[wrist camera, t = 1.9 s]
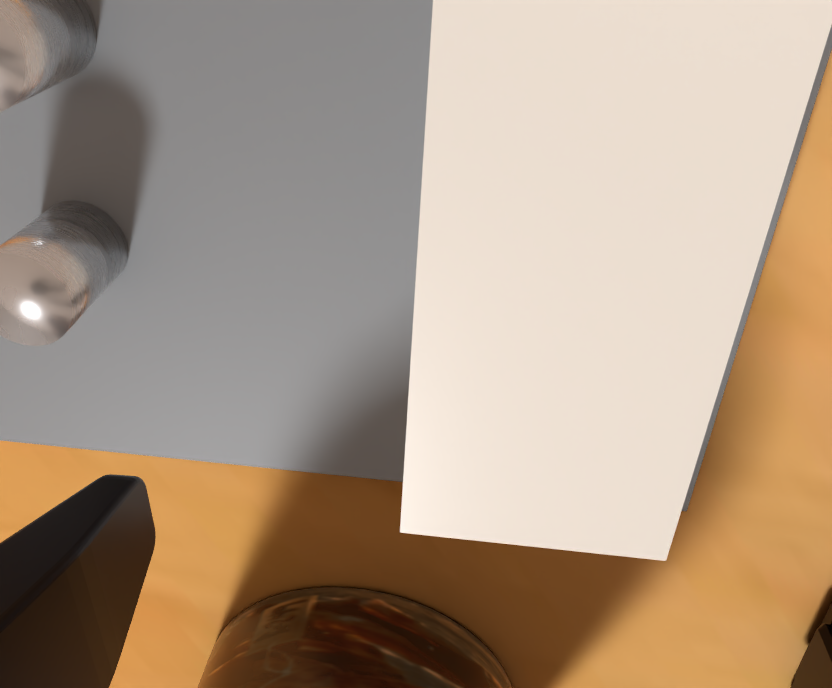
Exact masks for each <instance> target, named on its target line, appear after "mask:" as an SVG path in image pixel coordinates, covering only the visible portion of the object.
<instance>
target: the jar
mask: <svg viewBox="0 0 832 688" xmlns="http://www.w3.org/2000/svg"><path fill="white" fill-rule="evenodd" d="M198 688H512V685H511V683H510V680H509V678H508V676H507V674H506V672H505V670H504V668H503V667H502V665H501V664H500V662H499V661H498V659H497V658H496V657H495V656H494V654H493V653H492V652H491V651H490V650H489V649H488V648H487V647H486V646H485V645H484V644H483V643H482V642H481V641H480V640H479V639H478V638H477V637H476V636H474V635H473V634H472V633H471V632H469V631H468V630H467V629H465V628H464V627H463V626H461V625H460V624H458V623H456V622H455V621H453V620H452V619H450V618H448V617H446V616H445V615H443V614H441V613H439V612H437V611H435V610H433V609H430V608H428V607H426V606H424V605H421V604H419V603H416V602H413V601H411V600H407V599H404V598H401V597H398V596H394V595H390V594H386V593H382V592H377V591H371V590H365V589H356V588H343V587H321V588H309V589H302V590H295V591H291V592H286V593H282V594H279V595H276V596H272V597H270V598H267V599H265V600H262V601H260V602H258V603H256V604H254V605H252V606H250V607H249V608H247V609H246V610H244V611H243V612H241V613H240V614H239V615H237V616H236V617H235V618H234V619H233V620H232V621H231V622H230V623H229V624H228V625H227V626H226V627H225V629H224V630H223V631H222V633H221V634H220V636H219V638H218V640H217V641H216V643H215V645H214V647H213V650H212V652H211V655H210V657H209V659H208V662H207V665H206V667H205V670H204V672H203V675H202V678H201V680H200V683H199V685H198Z"/></svg>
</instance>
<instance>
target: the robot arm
mask: <svg viewBox="0 0 832 688" xmlns="http://www.w3.org/2000/svg"><path fill="white" fill-rule="evenodd" d="M154 546H155V527H154V522H153V517H152V513H151V508H150V503H149V499H148V494H147V489H146V486H145V483H144V482H143V480H142V479H141V478H139V477H136V476H125V475H105V476H102V477H100V478H99V479H97V480H95V481H94V482H92V483H91V484H89V485H88V486H86V487H85V488H83V489H82V490H80V491H79V492H77V493H76V494H74V495H73V496H71V497H70V498H68V499H67V500H65V501H63V502H62V503H60V504H59V505H57V506H56V507H54V508H53V509H51V510H50V511H48V512H47V513H45V514H44V515H42V516H41V517H39V518H38V519H36V520H35V521H33V522H32V523H30V524H29V525H27V526H25V527H24V528H22V529H21V530H19V531H18V532H16V533H15V534H13V535H12V536H10V537H9V538H7V539H6V540H4V541H3V542H1V543H0V688H109V685H110V683H111V681H112V678H113V676H114V673H115V670H116V667H117V664H118V661H119V658H120V655H121V652H122V649H123V646H124V643H125V640H126V636H127V633H128V630H129V627H130V624H131V621H132V617H133V614H134V611H135V608H136V605H137V602H138V598H139V595H140V592H141V589H142V586H143V583H144V579H145V576H146V573H147V570H148V567H149V564H150V560H151V557H152V554H153V550H154ZM791 688H832V603H831V605H830V607H829V609H828V611H827V613H826V615H825V617H824V619H823V621H822V623H821V626H820V627H819V628H818V629H817V630H816V632H815V634H814V636H813V638H812V640H811V642H810V644H809V646H808V648H807V651H806V653H805V655H804V657H803V659H802V661H801V663H800V665H799V667H798V669H797V671H796V674H795V680H794V682H793V684H792V686H791Z"/></svg>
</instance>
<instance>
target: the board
mask: <svg viewBox="0 0 832 688" xmlns="http://www.w3.org/2000/svg"><path fill="white" fill-rule="evenodd" d="M85 1H86V3H87V4H88V6H89V8H90V10H91V13H92V15H93V18H94V21H95V25H96V32H97V44H96V50H95V53H94V56H93V58H92V60H91V62H90V63H89V65H88V66H87V67H86V68H85V69H84V70H83V71H82V72H80V73H79V74H77V75H75V76H73V77H71V78H69V79H67V80H65V81H63V82H61V83H59V84H57V85H55V86H53V87H51V88H49V89H47V90H45V91H43V92H41V93H39V94H37V95H35V96H32V97H30V98H28V99H26V100H24V101H22V102H20V103H18V104H16V105H14V106H12V107H10V108H8V109H6V110H4V111H2V112H0V245H2V244H3V243H4V242H5V241H7V240H8V239H9V238H11V237H12V236H13V235H15V234H16V233H17V232H19V231H20V230H21V229H23V228H24V227H25V226H27V225H28V224H29V223H31V222H32V221H33V220H35V219H36V218H37V217H39V216H40V215H41V214H42V213H44V212H45V211H46V210H48V209H49V208H50V207H52V206H54V205H55V204H58V203H60V202H64V201H80V202H85V203H88V204H91V205H93V206H96V207H97V208H99V209H101V210H102V211H104V212H105V213H107V214H108V215H109V216H110V217H111V218H112V219H113V220H114V221H115V222H116V223H117V224H118V226H119V227H120V229H121V230H122V232H123V234H124V236H125V239H126V241H127V246H128V260H127V264H126V267H125V269H124V270H123V272H122V273H121V274H120V275H119V276H118V277H117V278H116V280H115V281H114V282H113V283H112V284H111V285H110V286H109V287H108V288H107V289H106V290H105V291H104V292H103V293H102V295H101V296H100V297H99V298H98V299H97V300H96V301H95V302H94V303H93V304H92V305H91V306H90V307H89V308H88V310H87V311H86V312H85V313H84V314H83V315H82V316H81V317H80V318H79V319H78V320H77V321H76V322H75V324H74V325H73V326H72V327H71V328H70V329H69V330H68V331H67V332H66V333H65V334H64V335H63V336H62V337H61V338H60V339H59V340H57V341H55V342H53V343H51V344H48V345H43V346H28V345H22V344H19V343H16V342H13V341H10V340H8V339H6V338H4V337H2V336H1V335H0V440H3V441H12V442H22V443H32V444H41V445H51V446H61V447H70V448H80V449H89V450H99V451H109V452H118V453H128V454H138V455H147V456H157V457H167V458H176V459H186V460H196V461H205V462H215V463H225V464H234V465H244V466H254V467H263V468H273V469H283V470H292V471H302V472H312V473H321V474H331V475H341V476H350V477H360V478H370V479H379V480H389V481H399V482H403V474H404V458H405V442H406V426H407V410H408V394H409V378H410V362H411V346H412V330H413V314H414V298H415V282H416V265H417V249H418V233H419V217H420V201H421V185H422V169H423V153H424V137H425V121H426V105H427V89H428V73H429V56H430V40H431V24H432V8H433V0H85ZM831 49H832V25H831V28H830V32H829V35H828V38H827V41H826V45H825V48H824V51H823V54H822V58H821V61H820V64H819V67H818V70H817V74H816V77H815V80H814V83H813V87H812V90H811V93H810V96H809V100H808V103H807V106H806V109H805V113H804V116H803V119H802V122H801V126H800V129H799V132H798V135H797V138H796V142H795V145H794V148H793V151H792V155H791V158H790V161H789V164H788V168H787V171H786V174H785V177H784V181H783V184H782V187H781V190H780V193H779V197H778V200H777V203H776V206H775V210H774V213H773V216H772V219H771V223H770V226H769V229H768V232H767V236H766V239H765V242H764V245H763V248H762V252H761V255H760V258H759V261H758V265H757V268H756V271H755V274H754V278H753V281H752V284H751V287H750V291H749V294H748V297H747V300H746V304H745V307H744V310H743V313H742V316H741V320H740V323H739V326H738V329H737V333H736V336H735V339H734V342H733V346H732V349H731V352H730V355H729V359H728V362H727V365H726V368H725V371H724V375H723V378H722V381H721V384H720V388H719V391H718V394H717V397H716V401H715V404H714V407H713V410H712V414H711V417H710V420H709V423H708V426H707V430H706V433H705V436H704V439H703V443H702V446H701V449H700V452H699V456H698V459H697V462H696V465H695V469H694V472H693V475H692V478H691V482H690V485H689V488H688V491H687V494H686V498H685V501H684V504H683V507H682V511H687V509H688V505H689V502H690V499H691V496H692V493H693V489H694V486H695V483H696V480H697V477H698V473H699V470H700V467H701V464H702V461H703V458H704V454H705V451H706V448H707V445H708V442H709V438H710V435H711V432H712V429H713V426H714V422H715V419H716V416H717V413H718V410H719V406H720V403H721V400H722V397H723V394H724V391H725V387H726V384H727V381H728V378H729V375H730V371H731V368H732V365H733V362H734V359H735V355H736V352H737V349H738V346H739V343H740V340H741V336H742V333H743V330H744V327H745V324H746V320H747V317H748V314H749V311H750V308H751V304H752V301H753V298H754V295H755V292H756V289H757V285H758V282H759V279H760V276H761V273H762V269H763V266H764V263H765V260H766V257H767V253H768V250H769V247H770V244H771V241H772V238H773V234H774V231H775V228H776V225H777V222H778V218H779V215H780V212H781V209H782V206H783V202H784V199H785V196H786V193H787V190H788V187H789V183H790V180H791V177H792V174H793V171H794V167H795V164H796V161H797V158H798V155H799V151H800V148H801V145H802V142H803V139H804V136H805V132H806V129H807V126H808V123H809V120H810V116H811V113H812V110H813V107H814V104H815V100H816V97H817V94H818V91H819V88H820V85H821V81H822V78H823V75H824V72H825V69H826V65H827V62H828V59H829V56H830V53H831Z"/></svg>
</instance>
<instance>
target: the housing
mask: <svg viewBox="0 0 832 688" xmlns="http://www.w3.org/2000/svg"><path fill="white" fill-rule="evenodd" d="M831 25H832V0H433V8H432V24H431V40H430V56H429V73H428V89H427V105H426V121H425V137H424V153H423V169H422V185H421V201H420V217H419V233H418V249H417V265H416V282H415V298H414V314H413V330H412V346H411V362H410V378H409V394H408V410H407V426H406V442H405V458H404V474H403V491H402V507H401V523H400V533H409V534H418V535H427V536H437V537H446V538H456V539H465V540H474V541H484V542H493V543H502V544H512V545H521V546H531V547H540V548H549V549H559V550H568V551H577V552H587V553H596V554H606V555H615V556H624V557H634V558H643V559H653V560H662V561H666V559H667V556H668V553H669V549H670V546H671V543H672V540H673V537H674V533H675V530H676V527H677V524H678V520H679V517H680V514H681V511H682V507H683V504H684V501H685V498H686V494H687V491H688V488H689V485H690V482H691V478H692V475H693V472H694V469H695V465H696V462H697V459H698V456H699V452H700V449H701V446H702V443H703V439H704V436H705V433H706V430H707V426H708V423H709V420H710V417H711V414H712V410H713V407H714V404H715V401H716V397H717V394H718V391H719V388H720V384H721V381H722V378H723V375H724V371H725V368H726V365H727V362H728V359H729V355H730V352H731V349H732V346H733V342H734V339H735V336H736V333H737V329H738V326H739V323H740V320H741V316H742V313H743V310H744V307H745V304H746V300H747V297H748V294H749V291H750V287H751V284H752V281H753V278H754V274H755V271H756V268H757V265H758V261H759V258H760V255H761V252H762V248H763V245H764V242H765V239H766V236H767V232H768V229H769V226H770V223H771V219H772V216H773V213H774V210H775V206H776V203H777V200H778V197H779V193H780V190H781V187H782V184H783V181H784V177H785V174H786V171H787V168H788V164H789V161H790V158H791V155H792V151H793V148H794V145H795V142H796V138H797V135H798V132H799V129H800V126H801V122H802V119H803V116H804V113H805V109H806V106H807V103H808V100H809V96H810V93H811V90H812V87H813V83H814V80H815V77H816V74H817V70H818V67H819V64H820V61H821V58H822V54H823V51H824V48H825V45H826V41H827V38H828V35H829V32H830V28H831Z"/></svg>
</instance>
